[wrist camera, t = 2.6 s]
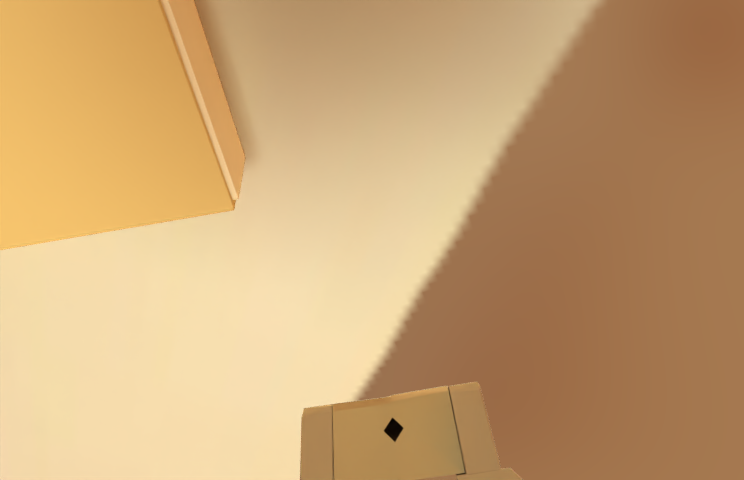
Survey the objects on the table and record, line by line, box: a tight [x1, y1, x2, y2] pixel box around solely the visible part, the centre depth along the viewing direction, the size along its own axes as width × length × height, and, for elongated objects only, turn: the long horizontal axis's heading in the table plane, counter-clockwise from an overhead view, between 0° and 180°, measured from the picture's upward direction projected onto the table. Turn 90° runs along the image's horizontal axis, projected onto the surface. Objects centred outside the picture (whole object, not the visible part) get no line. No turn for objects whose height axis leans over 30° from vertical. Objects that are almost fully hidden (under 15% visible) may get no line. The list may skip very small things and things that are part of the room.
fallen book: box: [0, 0, 245, 250], centre depth 25 cm, size 11×14×4 cm
